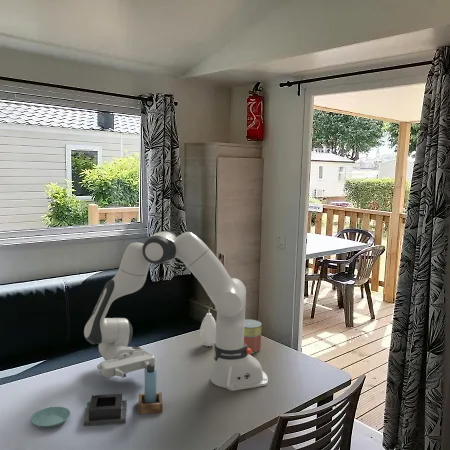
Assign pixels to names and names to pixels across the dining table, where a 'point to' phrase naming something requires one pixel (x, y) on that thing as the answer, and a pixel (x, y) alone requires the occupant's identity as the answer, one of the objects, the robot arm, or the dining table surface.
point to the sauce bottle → (208, 330)
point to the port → (105, 410)
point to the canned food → (252, 334)
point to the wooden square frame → (150, 405)
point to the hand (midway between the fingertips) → (136, 372)
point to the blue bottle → (150, 384)
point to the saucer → (50, 417)
